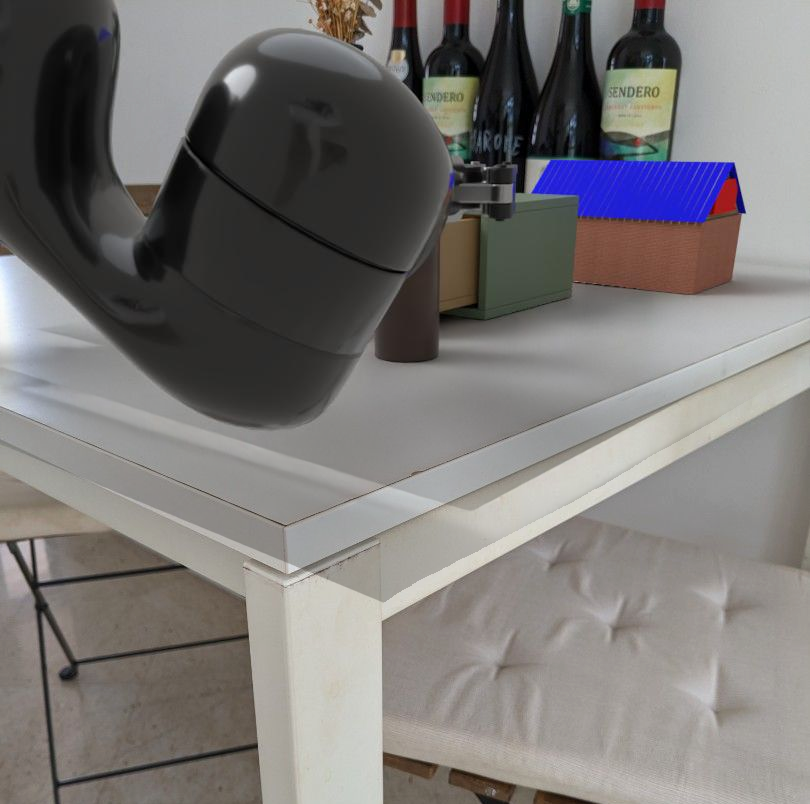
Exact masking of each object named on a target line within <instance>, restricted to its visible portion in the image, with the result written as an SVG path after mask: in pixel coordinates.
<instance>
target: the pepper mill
mask: <svg viewBox="0 0 810 804" xmlns="http://www.w3.org/2000/svg"><path fill="white" fill-rule="evenodd" d="M439 299H440V237H439V239H438V241H437V242H436V244H435V246H434V248H433V249H432V251H431V253H430V254H429V256H428V257H427V259H426V260H425V261H424V263H423V264H422V265H421V266H420V267H419V268H418V269H417V270H416V271H415V272H414V273H413V274H412V275H411V276H410V277H409V278H407V279H406V280H405V282H404V283H403V285H402V287H401V288H400V290H399V292H398V293H397V295H396V297H395V298H394V300H393V302H392V303H391V305H390V307H389V308H388V310H387V312H386V314H385V315H384V317H383V319H382V320H381V322H380V324H379V326H378V327H377V329H376V331H375V332H374V334H373V337H374V340H373V341H374V356H375V357H376V358H377V359H379V360H384V361H389V362H397V363H398V362H399V363H414V362H415V363H416V362H424V361H429V360H433V359H435V358H437V357H438V356H439V355H440V313H439Z"/></svg>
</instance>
